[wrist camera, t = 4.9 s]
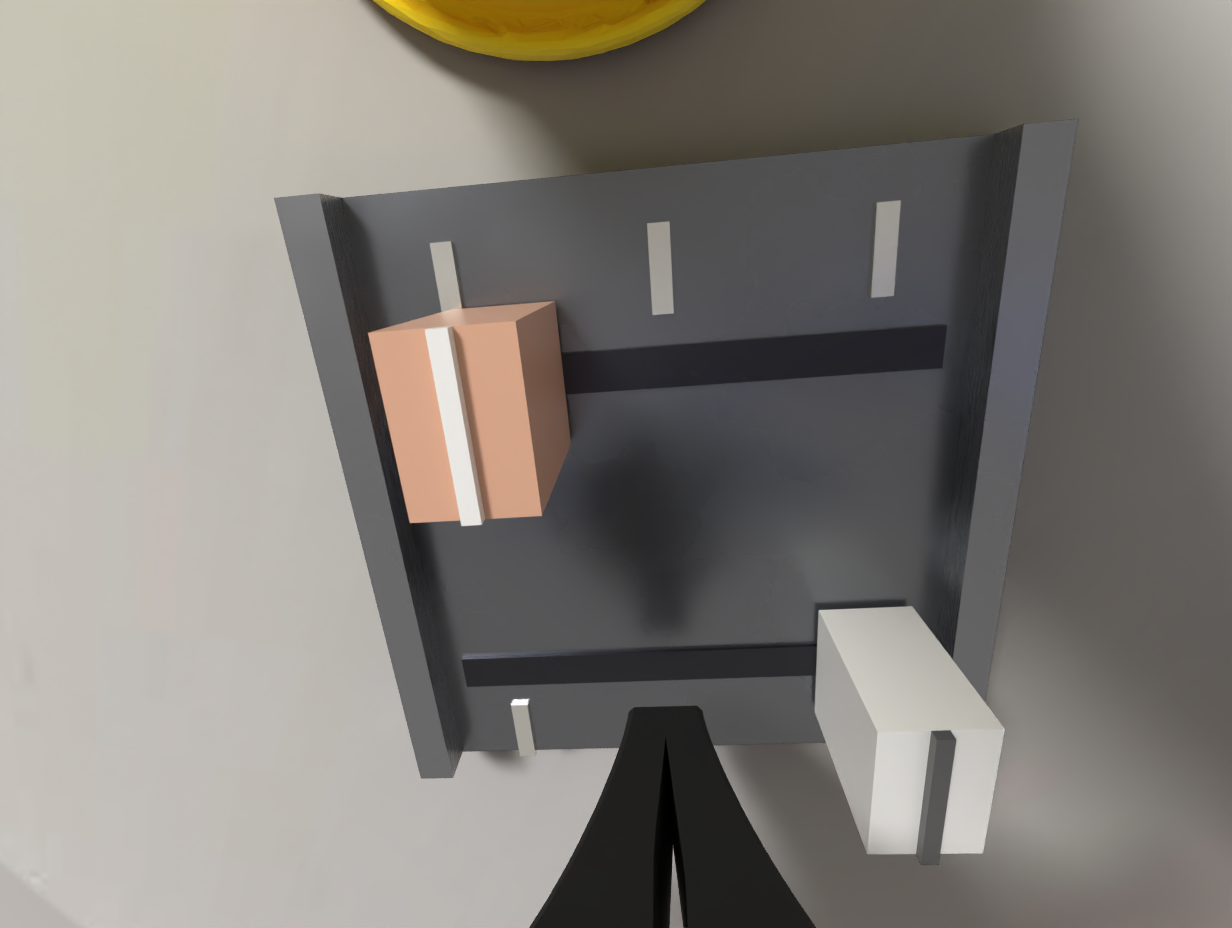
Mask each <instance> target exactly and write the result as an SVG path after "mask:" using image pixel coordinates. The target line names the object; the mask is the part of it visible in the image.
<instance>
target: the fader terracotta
mask: <svg viewBox="0 0 1232 928" xmlns="http://www.w3.org/2000/svg"><path fill="white" fill-rule="evenodd" d="M368 335H369V340H370V344H371V349H372V353H373V358H374V363H375V367H376V372H377V376H378V381H379V385H380V390H381V394H382V399H383V403H384V408H385V413H386V417H387V422H388V426H389V431H390V435H391V440H392V444H393V449H394V454H395V458H396V463H397V467H398V472H399V476H400V481H401V485H402V490H403V494H404V499H405V504H406V508H407V513H408V517H409V522H410V523H422V522H441V521H459V520H460V521H461V526H472V525H482V524H483V522H484V520H485V519H496V518H514V517H532V516H542V515H543V512H544V510H545V507H546V505H547V502H548V500H549V497H550V495H551V492H552V490H553V487H554V485H555V482H556V480H557V477H558V475H559V472H560V470H561V467H562V465H563V462H564V460H565V457H566V455H567V452H568V450H569V447H570V445H571V439H570V430H569V421H568V412H567V403H566V394H565V386H564V377H563V368H562V359H561V350H560V341H559V332H558V323H557V315H556V306H555V301H550V302H537V303H525V304H513V305H501V306H489V307H476V308H464V309H452V310H448V311H444V312H440V313H437V314H433V315H430V316H426V317H423V318H419V319H415V320H412V321H408V322H405V323H401V324H398V325H394V326H390V327H387V328H383V329H380V330H376V331H373V332H369V333H368Z"/></svg>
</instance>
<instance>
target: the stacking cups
mask: <svg viewBox="0 0 1232 928" xmlns="http://www.w3.org/2000/svg"><path fill="white" fill-rule="evenodd" d="M373 1H374V2H375V3H377V4H378V5H379V6H381V7H382V8H383V9H385V10H386V11H387V12H388V13H390V14H391V15H393V16H395V17H397V18H398V19H400V20H402V21H403V22H405V23H407V24H408V25H410V26H412V27H414V28H416V29H417V30H419V31H421V32H423V33H425V34H427V35H429V36H431V37H433V38H435V39H437V40H439V41H440V42H444V43H447V44H450V45H453V46H456V47H459V48H462V49H465V50H468V51H471V52H475V53H480V54H485V55H490V56H495V57H500V58H505V59H510V60H521V61H556V60H571V59H579V58H583V57H587V56H592V55H596V54H601V53H604V52H607V51H611V50H614V49H617V48H621V47H624V46H628V45H631V44H633V43H635V42H638V41H640V40H642V39H644V38H646V37H649V36H651V35H653V34H655V33H657V32H660V31H662V30H664V29H666V28H667V27H669V26H670V25H672V24H674V23H675V22H677V21H678V20H680V19H681V18H683V17H684V16H686V15H688V14H689V13H691V12H692V11H694V10H695V9H696V8H698V7H699V6H700V5H701V4H703V3H704V2H705V1H706V0H373Z"/></svg>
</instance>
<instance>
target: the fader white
mask: <svg viewBox="0 0 1232 928" xmlns="http://www.w3.org/2000/svg"><path fill="white" fill-rule="evenodd" d="M815 714H816V717H817V719H818V722H819V725H820V728H821V730H822V733H823V736H824V738H825V741H826V744H827V747H828V749H829V752H830V755H831V757H832V760H833V763H834V766H835V768H836V771H837V774H838V776H839V779H840V782H841V785H842V787H843V790H844V793H845V796H846V798H847V801H848V804H849V806H850V809H851V812H852V815H853V817H854V820H855V823H856V825H857V828H858V831H859V834H860V836H861V839H862V842H863V844H864V847H865V850H866V853H867V854H916V855H917V857H918V860H919V862H920V864H921V865H939V858H940V854H956V853H983V850H984V844H985V838H986V833H987V827H988V821H989V816H990V810H991V805H992V799H993V793H994V788H995V782H996V776H997V771H998V765H999V759H1000V754H1001V748H1002V742H1003V737H1004V731H1005V728H1004V727H1003V726H1002V724H1001V723H1000V722H999V720H998V719H997V718H996V716H995V715H994V714H993V712H992V711H991V710H990V708H989V707H988V706H987V704H986V703H985V702H984V701H983V699H982V698H981V697H980V695H979V694H978V693H977V691H976V690H975V689H974V687H973V686H972V685H971V683H970V682H969V681H968V679H967V678H966V677H965V675H964V674H963V673H962V671H961V670H960V669H959V667H958V666H957V665H956V663H955V662H954V661H953V660H952V658H951V657H950V656H949V654H948V653H947V652H946V650H945V649H944V648H943V646H942V645H941V644H940V642H939V641H938V640H937V638H936V637H935V636H934V634H933V633H932V632H931V630H930V629H929V628H928V626H927V625H926V624H925V622H924V621H923V620H922V619H921V617H920V616H919V615H918V613H917V612H916V611H915V609H914V608H913V607H912V606H907V607H883V608H858V609H834V610H819V612H818V638H817V663H816V689H815Z"/></svg>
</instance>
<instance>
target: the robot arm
mask: <svg viewBox="0 0 1232 928" xmlns="http://www.w3.org/2000/svg"><path fill="white" fill-rule="evenodd" d="M673 848H674V856H675V864H676V872H677V880H678V888H679V896H680V904H681V912H682V919H683V927H684V928H816V927H815V925H814V924H813V922H812V921H811V920H810V918H809V917H808V915H807V914H806V912H805V911H804V909H803V908H802V907H801V905H800V904H799V902H798V901H797V899H796V898H795V896H794V895H793V893H792V892H791V890H790V888H789V887H788V885H787V884H786V882H785V881H784V879H783V878H782V876H781V875H780V873H779V871H778V870H777V868H776V867H775V865H774V863H773V862H772V860H771V858H770V857H769V855H768V853H767V852H766V850H765V848H764V847H763V845H762V843H761V841H760V839H759V838H758V836H757V834H756V832H755V831H754V829H753V827H752V825H751V824H750V822H749V820H748V818H747V816H746V814H745V812H744V811H743V809H742V807H741V805H740V803H739V801H738V799H737V797H736V795H735V793H734V791H733V789H732V787H731V785H730V783H729V781H728V779H727V776H726V774H725V772H724V770H723V768H722V765H721V763H720V761H719V758H718V756H717V753H716V751H715V749H714V746H713V744H712V741H711V738H710V735H709V732H708V730H707V726H706V723H705V719H704V715H703V710H701V709H700V708H699V707H698V706H659V707H634V708H633V709H631V710H630V711H629V713H628V718H627V723H626V727H625V731H624V734H623V738H622V741H621V744H620V747H619V750H618V753H617V756H616V759H615V761H614V764H613V767H612V769H611V772H610V774H609V777H608V779H607V782H606V784H605V787H604V789H603V792H602V794H601V796H600V799H599V801H598V803H597V806H596V808H595V810H594V812H593V814H592V816H591V818H590V820H589V822H588V824H587V827H586V829H585V831H584V833H583V835H582V837H581V839H580V841H579V843H578V845H577V847H576V849H575V851H574V853H573V855H572V857H571V858H570V860H569V862H568V864H567V866H566V868H565V869H564V871H563V873H562V875H561V877H560V878H559V880H558V882H557V884H556V885H555V887H554V889H553V890H552V892H551V894H550V896H549V897H548V899H547V901H546V902H545V904H544V905H543V907H542V909H541V910H540V912H539V913H538V915H537V916H536V918H535V920H534V921H533V923H532V924H531V926H530V928H669V925H670V902H671V879H672V854H673Z"/></svg>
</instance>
